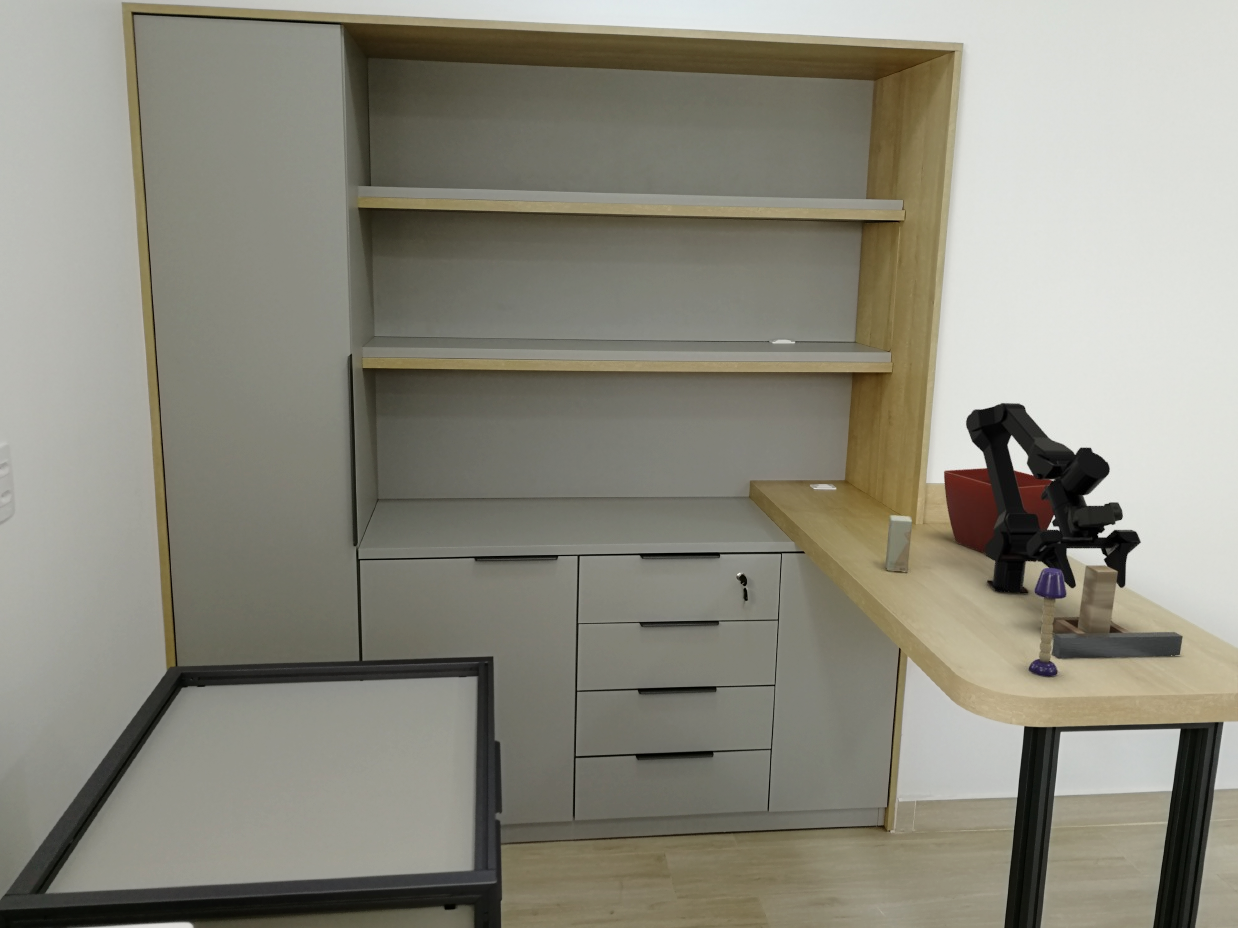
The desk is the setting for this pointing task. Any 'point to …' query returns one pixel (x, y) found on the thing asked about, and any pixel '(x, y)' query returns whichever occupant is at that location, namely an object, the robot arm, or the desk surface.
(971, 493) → the plant pot
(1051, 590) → the toy lamp
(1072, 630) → the collar
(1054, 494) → the robot arm
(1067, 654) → the rail
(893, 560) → the box
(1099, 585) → the wooden square post
